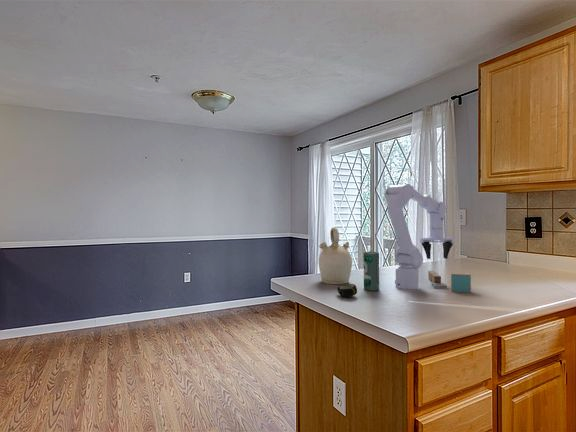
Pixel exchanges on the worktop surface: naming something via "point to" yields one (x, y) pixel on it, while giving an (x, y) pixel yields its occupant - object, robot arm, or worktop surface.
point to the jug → (335, 261)
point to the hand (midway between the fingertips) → (437, 258)
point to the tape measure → (347, 290)
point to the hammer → (436, 280)
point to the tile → (460, 282)
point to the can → (371, 270)
